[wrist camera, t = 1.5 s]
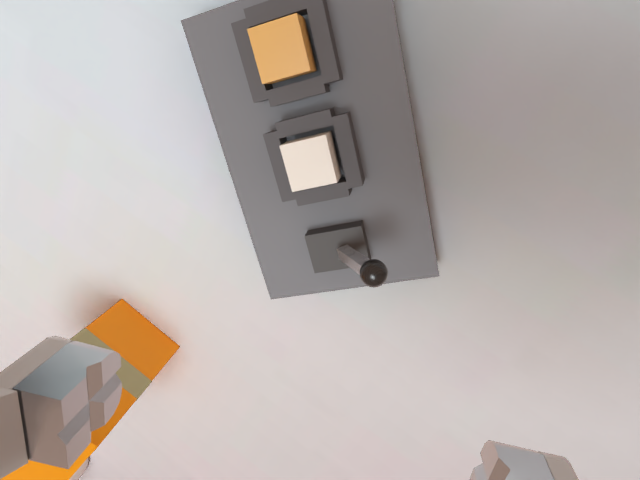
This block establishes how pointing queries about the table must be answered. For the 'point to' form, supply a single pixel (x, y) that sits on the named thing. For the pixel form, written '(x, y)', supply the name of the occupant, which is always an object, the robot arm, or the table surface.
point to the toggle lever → (364, 266)
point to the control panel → (314, 118)
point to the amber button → (282, 49)
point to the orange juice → (135, 374)
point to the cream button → (311, 161)
